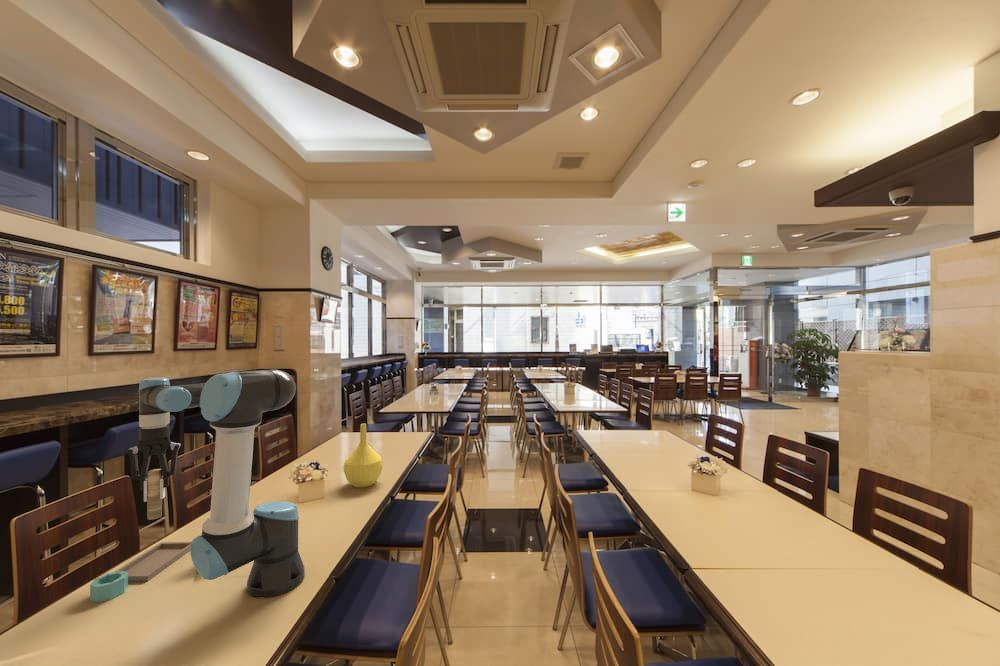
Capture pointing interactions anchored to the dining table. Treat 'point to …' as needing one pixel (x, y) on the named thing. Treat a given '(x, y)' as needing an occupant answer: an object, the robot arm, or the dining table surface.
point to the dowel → (154, 494)
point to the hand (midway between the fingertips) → (154, 498)
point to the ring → (108, 586)
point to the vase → (363, 463)
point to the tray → (155, 560)
